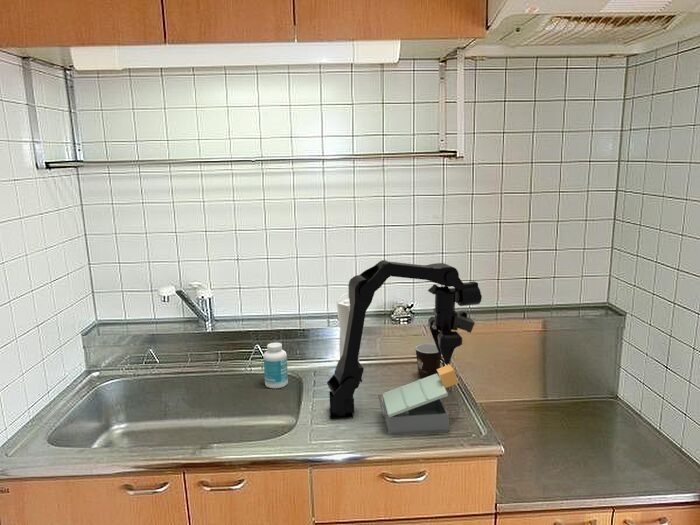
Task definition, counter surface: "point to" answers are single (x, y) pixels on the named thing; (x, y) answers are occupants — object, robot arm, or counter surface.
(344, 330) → the skyscraper
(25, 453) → the counter surface
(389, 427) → the parts tub
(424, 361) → the coffee mug
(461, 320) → the robot arm
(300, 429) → the counter surface
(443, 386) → the lid
